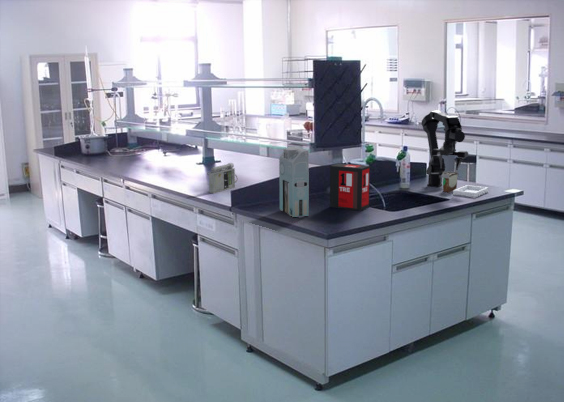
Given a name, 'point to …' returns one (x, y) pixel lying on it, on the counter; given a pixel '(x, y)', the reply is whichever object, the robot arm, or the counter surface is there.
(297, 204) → the device
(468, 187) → the tray
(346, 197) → the cleaning product box
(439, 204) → the counter surface
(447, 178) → the food container
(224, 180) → the geiger counter
